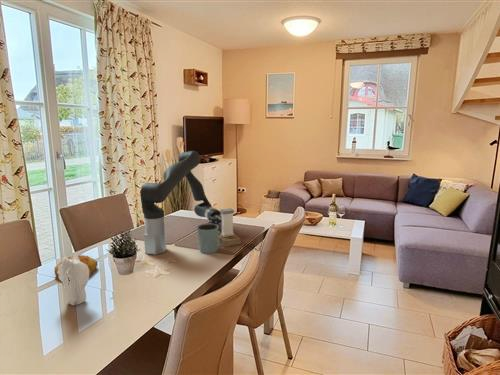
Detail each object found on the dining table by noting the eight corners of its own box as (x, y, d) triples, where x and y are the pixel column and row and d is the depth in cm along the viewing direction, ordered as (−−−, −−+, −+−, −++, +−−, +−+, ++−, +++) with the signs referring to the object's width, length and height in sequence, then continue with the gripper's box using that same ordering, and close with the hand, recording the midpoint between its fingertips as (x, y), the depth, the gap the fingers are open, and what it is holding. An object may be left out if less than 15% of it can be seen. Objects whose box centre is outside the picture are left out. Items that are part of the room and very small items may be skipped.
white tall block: (220, 234, 169) (220, 209, 166) (231, 233, 172) (230, 208, 169) (223, 237, 166) (223, 211, 163) (234, 235, 168) (234, 209, 166)
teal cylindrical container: (208, 256, 151) (207, 231, 149) (193, 251, 157) (192, 227, 155) (223, 249, 159) (222, 225, 157) (208, 244, 165) (207, 222, 163)
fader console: (208, 234, 181) (208, 228, 180) (223, 231, 185) (223, 226, 184) (224, 247, 162) (224, 241, 161) (240, 243, 166) (240, 238, 165)
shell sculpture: (82, 293, 118) (77, 246, 115) (93, 301, 113) (88, 252, 109) (58, 303, 112) (51, 253, 108) (68, 311, 107) (61, 260, 103)
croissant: (60, 274, 139) (55, 256, 137) (99, 264, 143) (95, 247, 141) (52, 289, 125) (46, 270, 123) (95, 277, 130) (90, 259, 128)
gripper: (202, 210, 180) (213, 218, 165) (223, 207, 186) (237, 214, 171) (202, 223, 181) (214, 232, 167) (224, 219, 188) (237, 228, 173)
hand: (225, 223), depth 169 cm, fingers closed
